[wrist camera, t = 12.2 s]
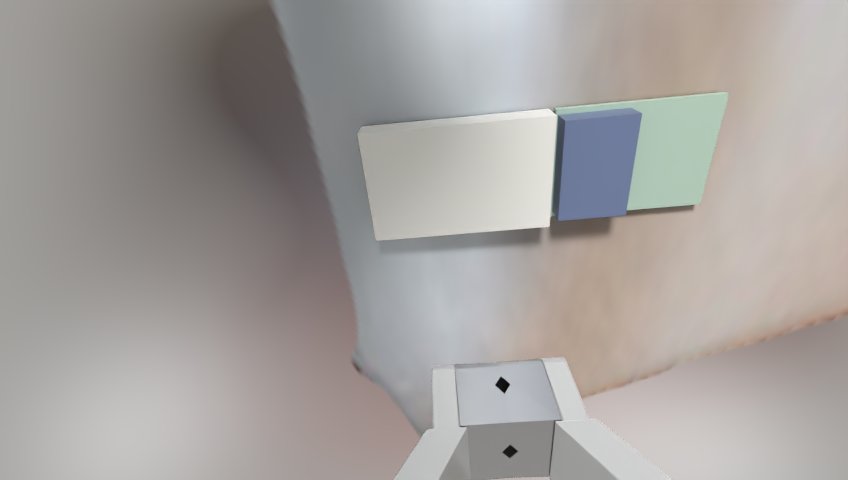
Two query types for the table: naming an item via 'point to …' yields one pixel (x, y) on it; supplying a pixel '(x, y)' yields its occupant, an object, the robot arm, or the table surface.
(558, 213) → the tile
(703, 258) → the table surface
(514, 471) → the robot arm
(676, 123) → the mat
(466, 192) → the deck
